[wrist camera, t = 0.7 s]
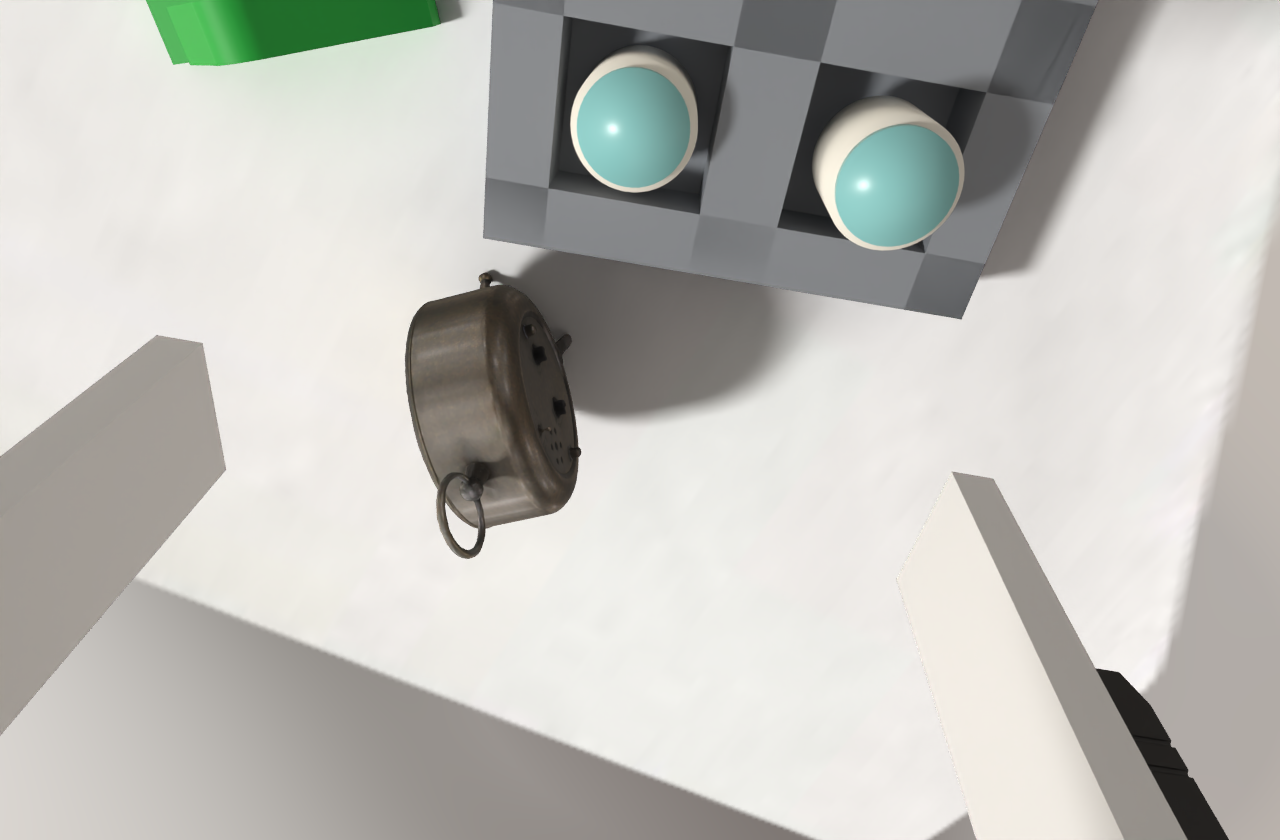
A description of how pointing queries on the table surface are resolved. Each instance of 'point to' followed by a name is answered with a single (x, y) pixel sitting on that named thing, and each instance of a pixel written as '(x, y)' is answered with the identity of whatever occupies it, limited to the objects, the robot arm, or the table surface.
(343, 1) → the bracket
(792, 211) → the button board
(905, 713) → the table surface
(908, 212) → the button
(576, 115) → the button
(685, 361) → the table surface
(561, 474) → the alarm clock
